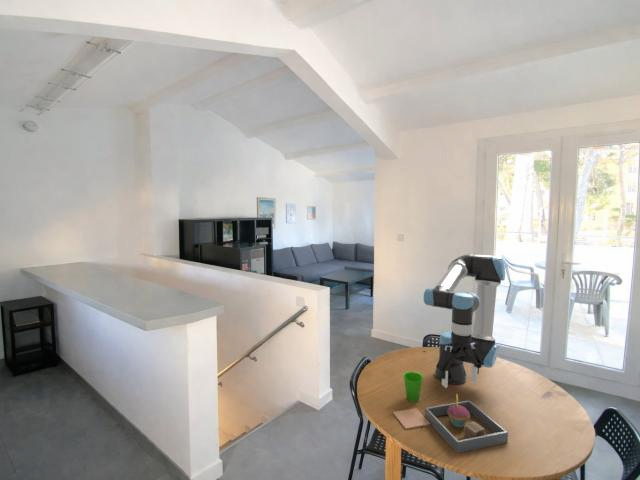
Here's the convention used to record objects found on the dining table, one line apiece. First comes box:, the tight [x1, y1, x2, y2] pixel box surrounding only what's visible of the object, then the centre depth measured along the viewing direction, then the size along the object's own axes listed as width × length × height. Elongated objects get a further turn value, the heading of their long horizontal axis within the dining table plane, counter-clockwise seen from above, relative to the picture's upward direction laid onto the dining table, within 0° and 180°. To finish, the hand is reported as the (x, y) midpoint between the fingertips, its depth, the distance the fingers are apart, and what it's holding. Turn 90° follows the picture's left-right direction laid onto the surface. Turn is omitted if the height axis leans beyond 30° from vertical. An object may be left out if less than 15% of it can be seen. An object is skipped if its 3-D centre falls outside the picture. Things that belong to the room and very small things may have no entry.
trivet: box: [392, 407, 431, 430], centre depth 142 cm, size 11×11×1 cm
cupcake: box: [446, 394, 471, 428], centre depth 138 cm, size 9×8×12 cm
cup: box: [402, 371, 424, 403], centre depth 156 cm, size 9×9×11 cm
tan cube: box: [463, 420, 486, 439], centre depth 130 cm, size 5×5×5 cm
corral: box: [424, 400, 509, 454], centre depth 135 cm, size 22×22×4 cm
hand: (459, 383), depth 137 cm, fingers open, 13 cm apart
